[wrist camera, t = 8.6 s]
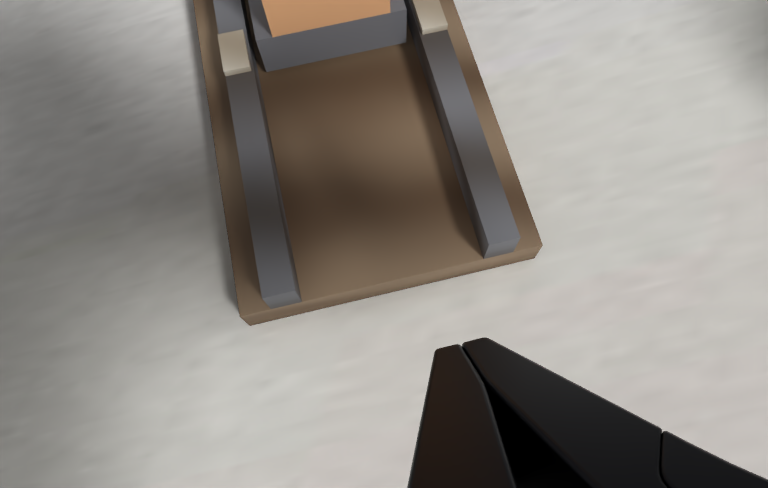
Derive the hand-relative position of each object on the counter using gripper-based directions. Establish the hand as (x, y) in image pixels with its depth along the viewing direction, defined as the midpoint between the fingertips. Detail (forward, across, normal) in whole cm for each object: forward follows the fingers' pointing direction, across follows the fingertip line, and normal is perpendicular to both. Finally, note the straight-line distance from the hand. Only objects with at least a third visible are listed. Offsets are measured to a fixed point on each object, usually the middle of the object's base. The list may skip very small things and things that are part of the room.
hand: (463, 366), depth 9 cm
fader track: (+20, 0, -1) cm, 20 cm away
